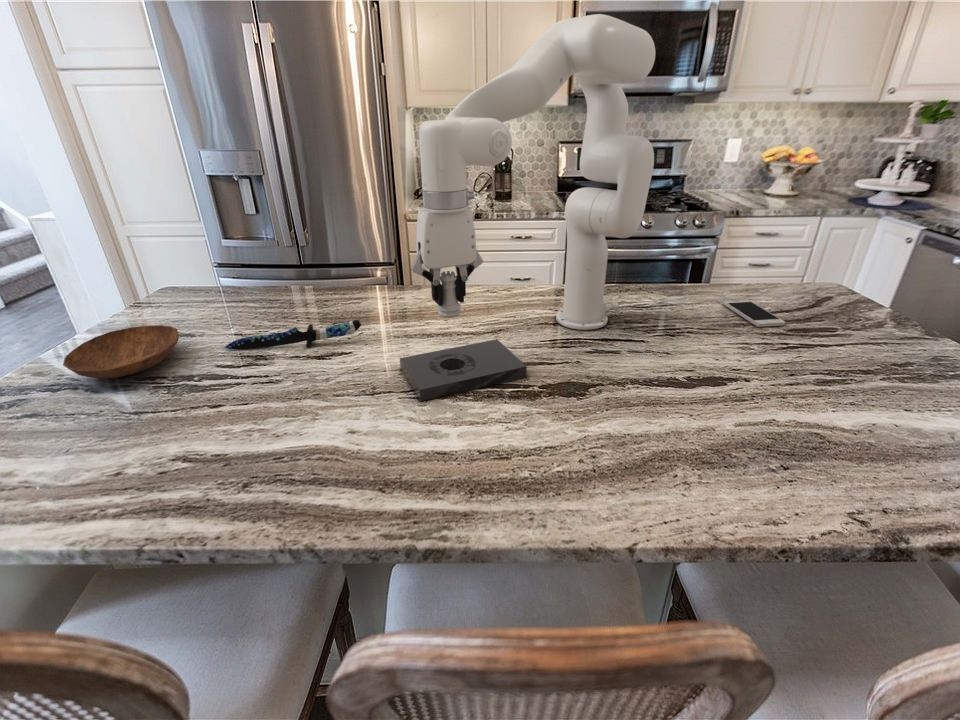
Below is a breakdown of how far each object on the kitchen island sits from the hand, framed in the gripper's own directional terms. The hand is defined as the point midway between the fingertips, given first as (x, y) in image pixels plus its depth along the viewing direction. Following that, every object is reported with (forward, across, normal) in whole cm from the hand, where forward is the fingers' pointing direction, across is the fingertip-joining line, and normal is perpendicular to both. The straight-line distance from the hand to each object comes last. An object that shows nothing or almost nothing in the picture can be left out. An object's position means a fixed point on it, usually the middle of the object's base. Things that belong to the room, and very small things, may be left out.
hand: (449, 301), depth 93 cm
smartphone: (+15, -80, +2) cm, 82 cm away
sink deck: (+16, -2, 0) cm, 16 cm away
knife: (+16, +28, -28) cm, 43 cm away
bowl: (+16, +61, -32) cm, 71 cm away
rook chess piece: (+3, 0, 0) cm, 3 cm away
